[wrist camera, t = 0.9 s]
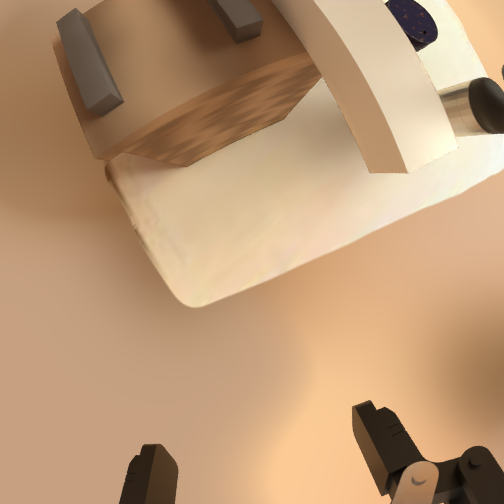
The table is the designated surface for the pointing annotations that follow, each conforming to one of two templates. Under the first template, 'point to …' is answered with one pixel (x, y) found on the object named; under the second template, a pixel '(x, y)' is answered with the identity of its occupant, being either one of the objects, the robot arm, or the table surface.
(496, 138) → the table surface
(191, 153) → the tall stand
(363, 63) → the bar
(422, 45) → the dark blue cylinder
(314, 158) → the table surface
